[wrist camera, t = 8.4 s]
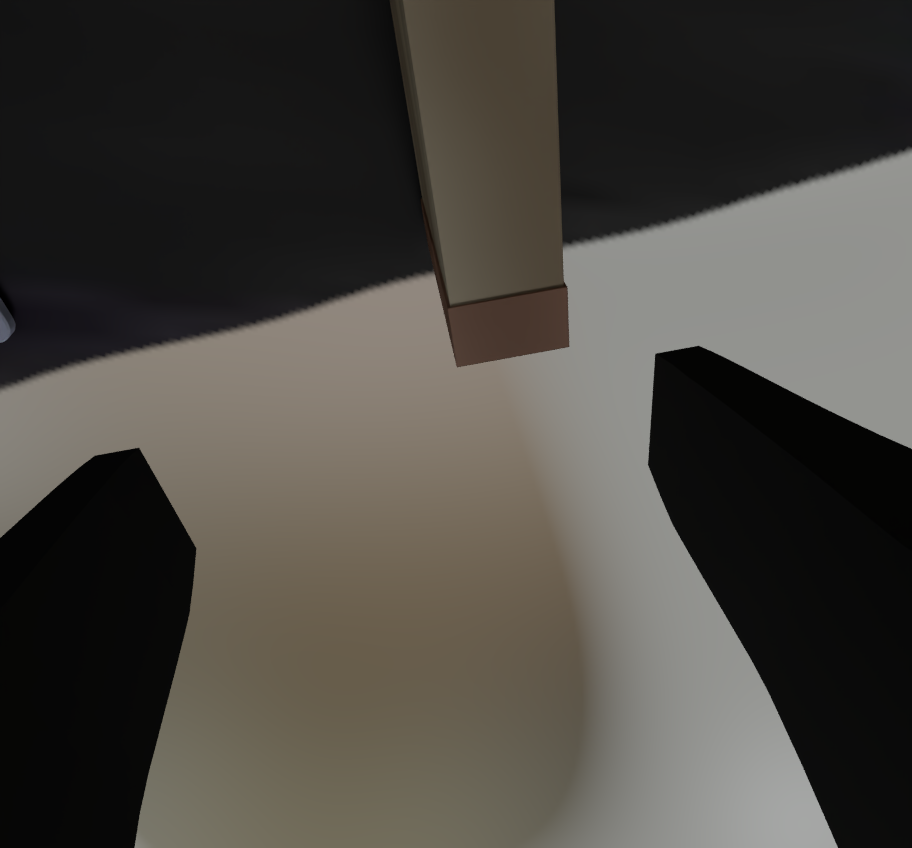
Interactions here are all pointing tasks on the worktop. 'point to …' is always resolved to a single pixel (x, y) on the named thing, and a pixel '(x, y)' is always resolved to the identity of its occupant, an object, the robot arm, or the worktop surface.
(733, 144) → the worktop surface
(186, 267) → the worktop surface
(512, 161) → the brown-tipped cream rod
